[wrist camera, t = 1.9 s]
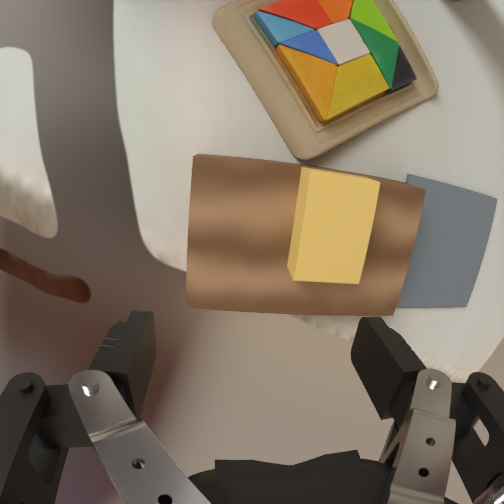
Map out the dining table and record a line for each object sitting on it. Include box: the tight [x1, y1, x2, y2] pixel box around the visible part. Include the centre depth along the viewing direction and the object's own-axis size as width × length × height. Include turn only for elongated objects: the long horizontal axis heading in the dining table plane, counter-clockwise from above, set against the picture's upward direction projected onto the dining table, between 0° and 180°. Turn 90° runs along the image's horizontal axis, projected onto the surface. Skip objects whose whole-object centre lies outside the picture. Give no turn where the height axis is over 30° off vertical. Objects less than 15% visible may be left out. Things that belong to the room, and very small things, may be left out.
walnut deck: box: [186, 154, 426, 316], centre depth 30 cm, size 14×22×4 cm, turn 84°
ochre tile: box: [287, 167, 380, 284], centre depth 26 cm, size 9×6×3 cm, turn 174°
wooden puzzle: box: [212, 0, 439, 160], centre depth 24 cm, size 18×19×4 cm
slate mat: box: [396, 174, 497, 308], centre depth 34 cm, size 16×16×1 cm
